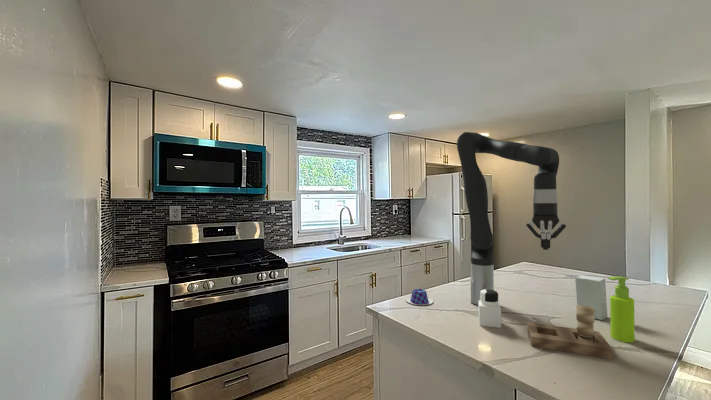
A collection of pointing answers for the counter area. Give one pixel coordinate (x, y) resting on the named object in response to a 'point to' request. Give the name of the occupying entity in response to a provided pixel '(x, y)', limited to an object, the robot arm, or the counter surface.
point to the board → (567, 340)
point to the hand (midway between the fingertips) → (545, 249)
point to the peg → (585, 322)
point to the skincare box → (592, 294)
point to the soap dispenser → (622, 312)
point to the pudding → (419, 297)
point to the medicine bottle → (489, 309)
